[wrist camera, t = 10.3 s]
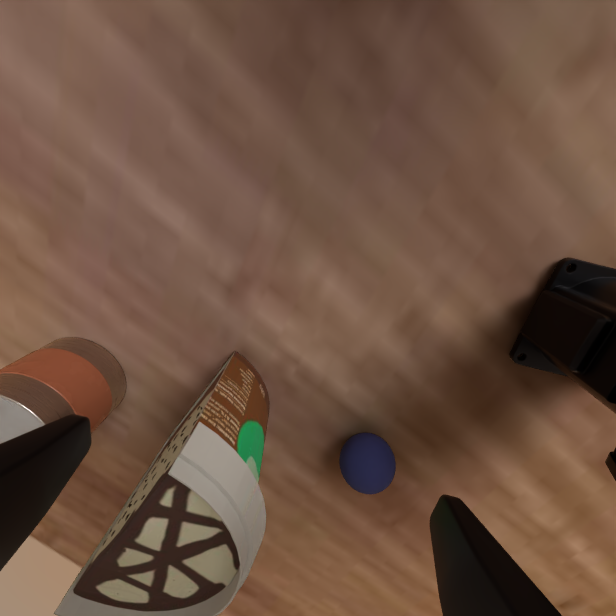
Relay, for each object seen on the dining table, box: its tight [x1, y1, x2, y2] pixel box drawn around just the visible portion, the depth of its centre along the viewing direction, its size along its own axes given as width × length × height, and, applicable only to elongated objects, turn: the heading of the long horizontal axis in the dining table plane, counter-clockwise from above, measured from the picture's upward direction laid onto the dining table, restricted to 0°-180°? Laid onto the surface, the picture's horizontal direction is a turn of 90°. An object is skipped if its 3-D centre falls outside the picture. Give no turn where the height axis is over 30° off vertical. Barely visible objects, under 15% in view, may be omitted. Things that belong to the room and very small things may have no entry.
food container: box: [54, 351, 269, 616], centre depth 18 cm, size 12×6×10 cm, turn 143°
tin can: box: [0, 337, 126, 444], centre depth 19 cm, size 6×6×6 cm
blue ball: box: [339, 433, 396, 494], centre depth 21 cm, size 4×4×4 cm
